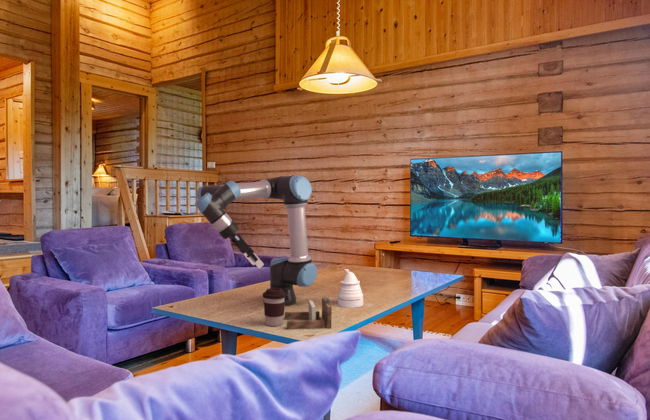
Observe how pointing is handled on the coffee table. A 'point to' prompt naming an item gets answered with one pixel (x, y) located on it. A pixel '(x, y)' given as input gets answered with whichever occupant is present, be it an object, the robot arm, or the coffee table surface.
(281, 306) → the coffee cup
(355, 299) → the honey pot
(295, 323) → the dock
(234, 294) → the coffee table surface
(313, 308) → the catch plate
